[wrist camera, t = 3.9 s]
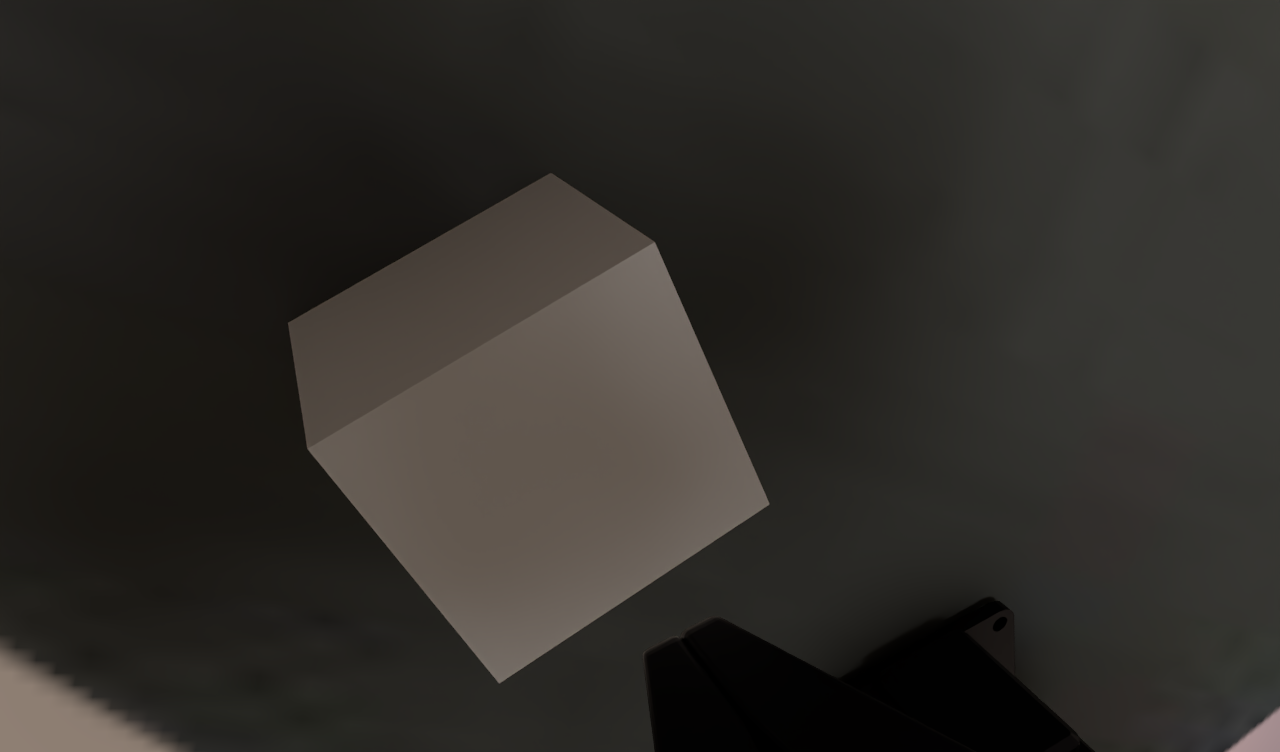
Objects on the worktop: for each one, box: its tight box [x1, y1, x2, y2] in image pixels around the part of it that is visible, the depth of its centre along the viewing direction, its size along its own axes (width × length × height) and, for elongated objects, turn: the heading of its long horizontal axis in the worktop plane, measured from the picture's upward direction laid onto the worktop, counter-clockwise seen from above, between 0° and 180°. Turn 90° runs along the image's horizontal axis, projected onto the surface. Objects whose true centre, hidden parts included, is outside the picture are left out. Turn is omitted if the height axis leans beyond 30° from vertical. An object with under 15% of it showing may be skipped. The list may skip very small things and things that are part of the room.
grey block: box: [288, 173, 769, 683], centre depth 14 cm, size 5×5×4 cm
